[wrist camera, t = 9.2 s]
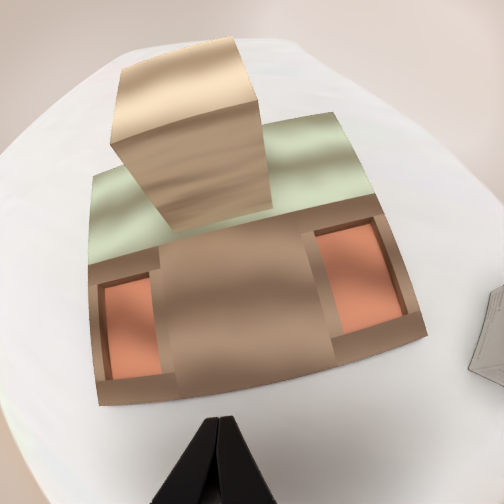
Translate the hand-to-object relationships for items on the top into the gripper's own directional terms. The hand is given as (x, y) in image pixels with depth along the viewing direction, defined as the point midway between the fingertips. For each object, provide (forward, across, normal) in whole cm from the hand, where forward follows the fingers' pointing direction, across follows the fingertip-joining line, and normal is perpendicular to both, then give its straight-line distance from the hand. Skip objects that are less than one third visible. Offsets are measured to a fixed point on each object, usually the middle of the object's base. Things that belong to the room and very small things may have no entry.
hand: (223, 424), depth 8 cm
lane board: (+18, 0, 0) cm, 18 cm away
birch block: (+21, 0, -5) cm, 21 cm away
